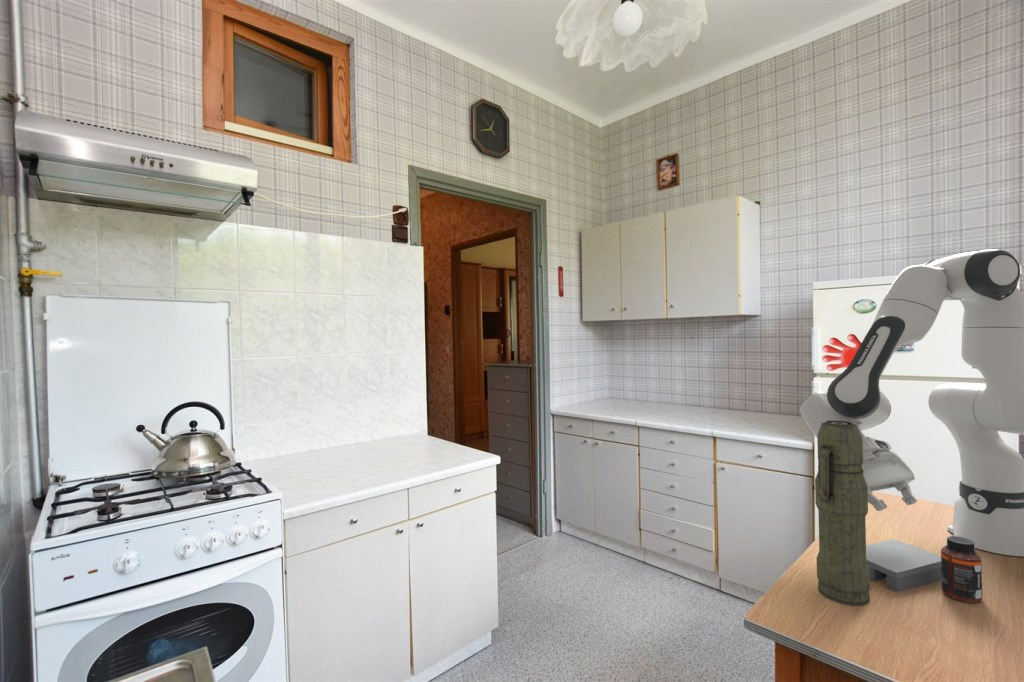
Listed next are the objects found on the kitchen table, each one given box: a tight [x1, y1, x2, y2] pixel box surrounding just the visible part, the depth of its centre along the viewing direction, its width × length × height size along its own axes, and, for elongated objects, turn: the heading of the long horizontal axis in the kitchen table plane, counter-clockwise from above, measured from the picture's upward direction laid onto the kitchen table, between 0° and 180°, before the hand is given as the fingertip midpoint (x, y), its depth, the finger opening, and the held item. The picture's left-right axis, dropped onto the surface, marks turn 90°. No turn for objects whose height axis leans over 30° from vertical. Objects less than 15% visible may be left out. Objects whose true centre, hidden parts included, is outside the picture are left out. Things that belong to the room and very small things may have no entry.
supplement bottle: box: [940, 535, 984, 604], centre depth 95 cm, size 6×6×11 cm
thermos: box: [814, 421, 871, 607], centre depth 97 cm, size 9×12×35 cm
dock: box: [866, 538, 942, 593], centre depth 105 cm, size 16×11×4 cm
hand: (897, 506), depth 106 cm, fingers open, 8 cm apart
